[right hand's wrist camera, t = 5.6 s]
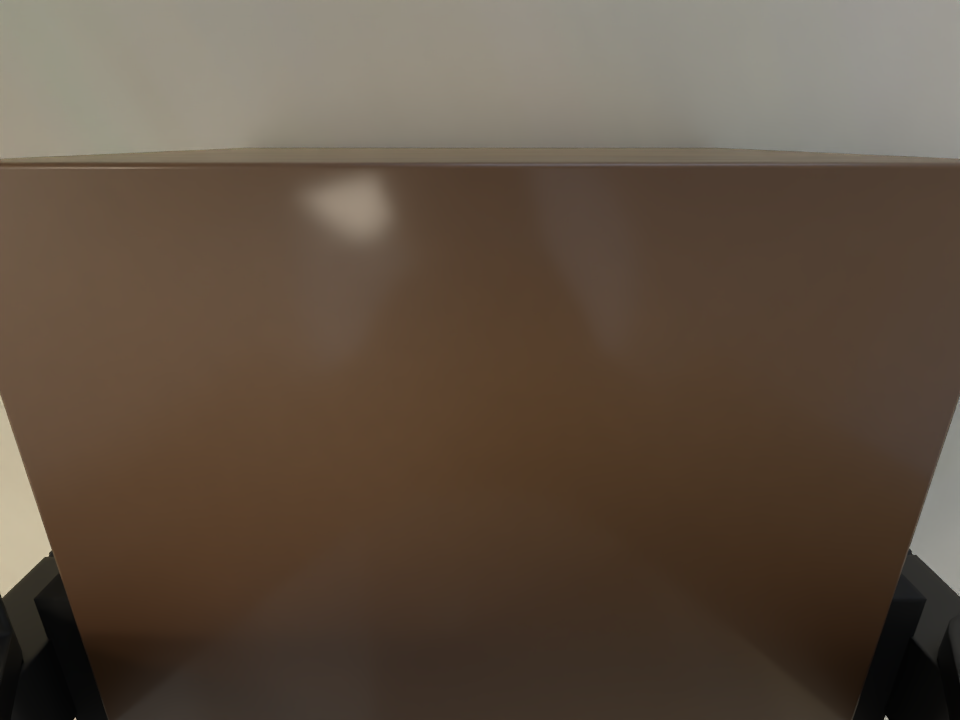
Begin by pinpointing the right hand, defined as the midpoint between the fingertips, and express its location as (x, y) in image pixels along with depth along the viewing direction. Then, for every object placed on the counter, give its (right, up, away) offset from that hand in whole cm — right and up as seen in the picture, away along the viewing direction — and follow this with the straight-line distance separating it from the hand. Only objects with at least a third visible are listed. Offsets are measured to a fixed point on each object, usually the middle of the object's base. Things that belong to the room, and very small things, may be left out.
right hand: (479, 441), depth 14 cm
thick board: (0, -25, +10) cm, 27 cm away
